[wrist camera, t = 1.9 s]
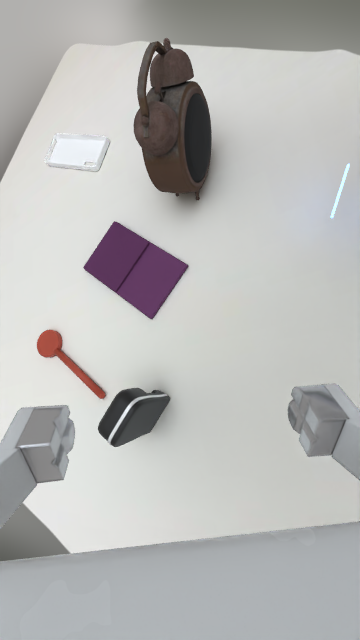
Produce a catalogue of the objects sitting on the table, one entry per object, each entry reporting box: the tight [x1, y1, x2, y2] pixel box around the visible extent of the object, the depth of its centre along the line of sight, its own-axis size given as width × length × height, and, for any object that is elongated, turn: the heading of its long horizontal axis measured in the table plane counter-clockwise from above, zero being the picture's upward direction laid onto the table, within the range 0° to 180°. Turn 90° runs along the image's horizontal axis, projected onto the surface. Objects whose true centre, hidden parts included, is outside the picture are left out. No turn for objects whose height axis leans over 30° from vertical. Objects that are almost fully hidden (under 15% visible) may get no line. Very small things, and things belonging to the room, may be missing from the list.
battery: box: [98, 388, 170, 447], centre depth 40 cm, size 7×4×11 cm, turn 147°
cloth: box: [83, 221, 188, 319], centre depth 51 cm, size 11×18×1 cm, turn 53°
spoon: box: [37, 330, 105, 399], centre depth 51 cm, size 5×19×1 cm, turn 53°
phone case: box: [44, 133, 110, 171], centre depth 61 cm, size 7×1×15 cm
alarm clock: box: [134, 38, 211, 200], centre depth 41 cm, size 15×7×20 cm, turn 166°
